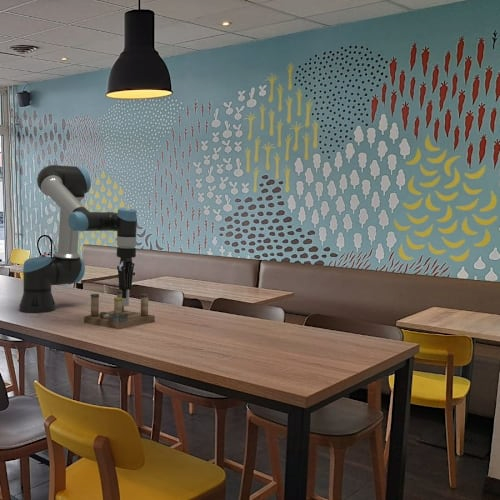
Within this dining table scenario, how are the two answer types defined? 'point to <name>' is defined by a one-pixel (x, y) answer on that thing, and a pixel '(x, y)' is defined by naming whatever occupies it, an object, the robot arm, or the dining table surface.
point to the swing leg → (116, 308)
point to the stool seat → (119, 319)
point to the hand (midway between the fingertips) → (125, 305)
